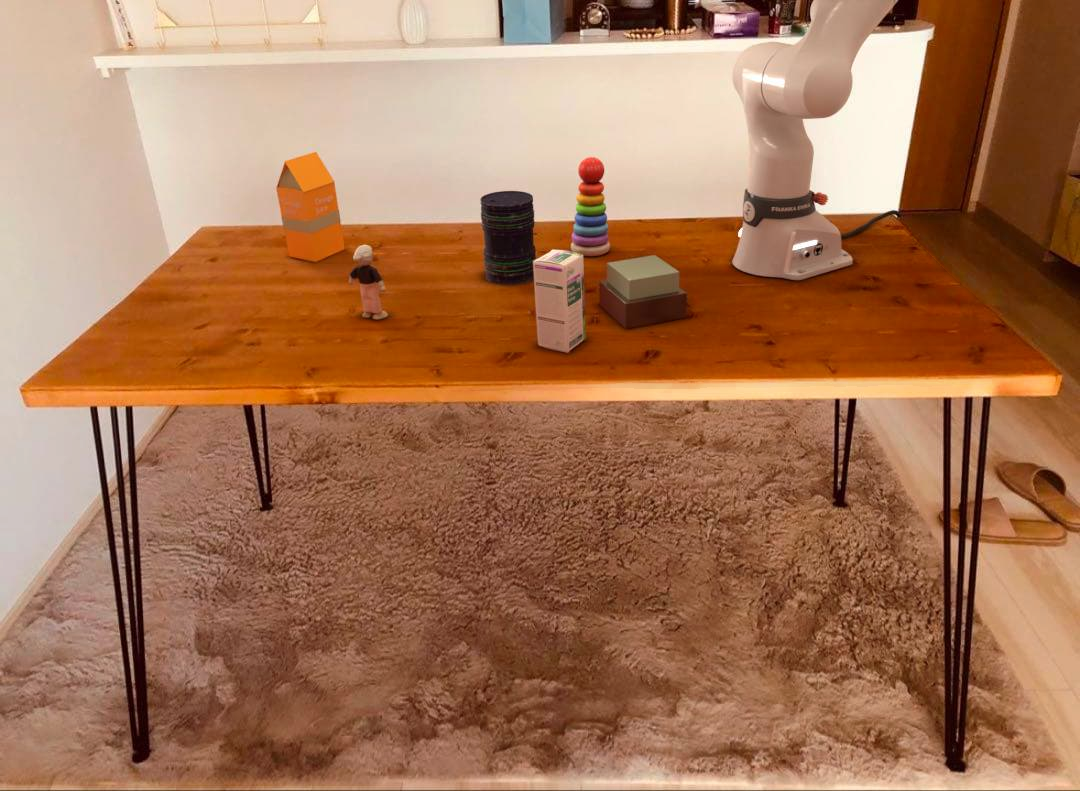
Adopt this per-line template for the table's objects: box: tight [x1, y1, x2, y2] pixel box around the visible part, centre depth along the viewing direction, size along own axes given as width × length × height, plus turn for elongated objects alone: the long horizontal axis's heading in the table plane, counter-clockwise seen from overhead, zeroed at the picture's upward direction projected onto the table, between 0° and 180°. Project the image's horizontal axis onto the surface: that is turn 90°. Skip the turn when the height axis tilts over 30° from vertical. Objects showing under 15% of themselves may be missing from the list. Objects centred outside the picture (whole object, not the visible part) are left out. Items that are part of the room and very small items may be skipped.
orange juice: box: [275, 151, 345, 263], centre depth 173 cm, size 8×9×20 cm
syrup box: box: [533, 249, 587, 354], centre depth 131 cm, size 6×6×14 cm
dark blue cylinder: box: [480, 190, 537, 286], centre depth 158 cm, size 10×10×15 cm
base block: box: [598, 279, 688, 330], centre depth 143 cm, size 11×11×4 cm
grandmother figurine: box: [348, 244, 389, 320], centre depth 144 cm, size 8×4×13 cm, turn 71°
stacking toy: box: [570, 156, 611, 257], centre depth 168 cm, size 8×8×19 cm
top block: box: [606, 254, 680, 300], centre depth 142 cm, size 9×9×4 cm
